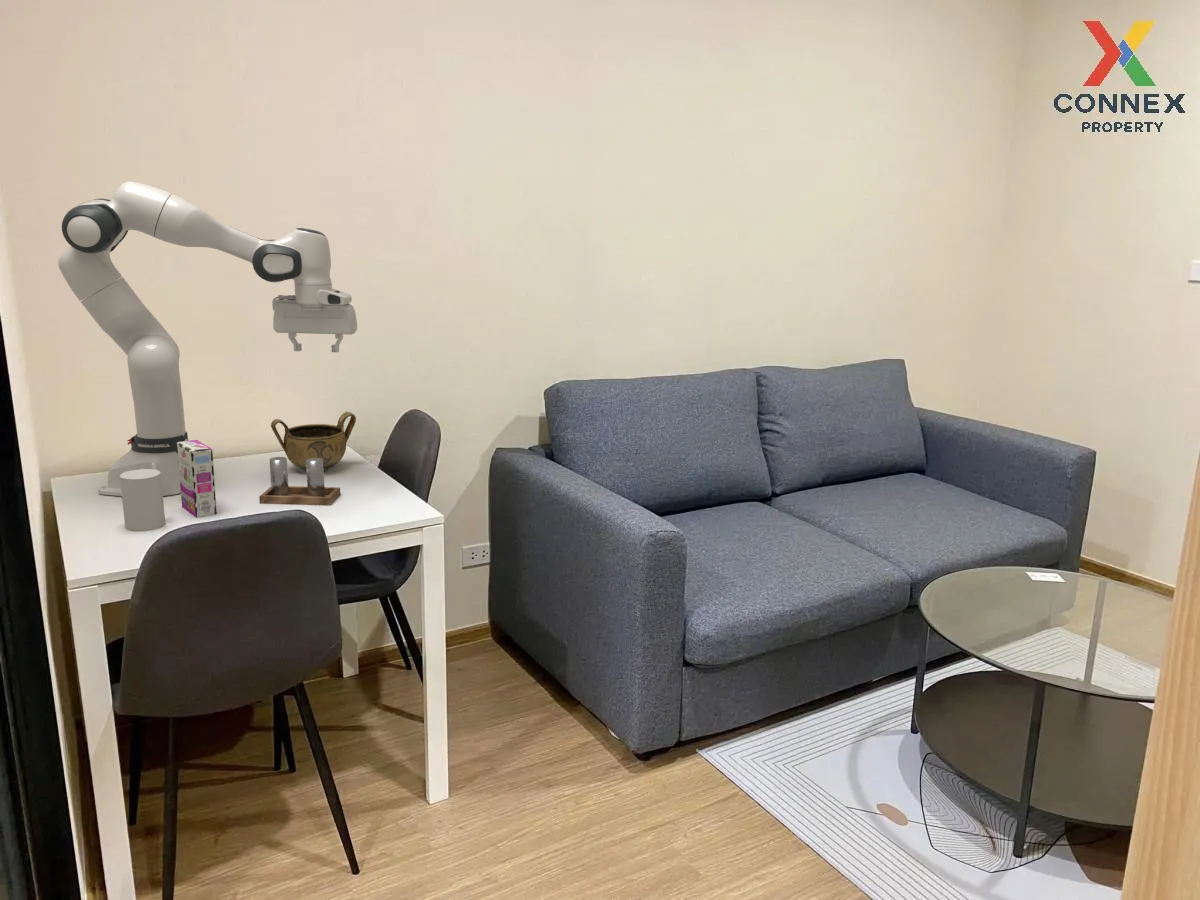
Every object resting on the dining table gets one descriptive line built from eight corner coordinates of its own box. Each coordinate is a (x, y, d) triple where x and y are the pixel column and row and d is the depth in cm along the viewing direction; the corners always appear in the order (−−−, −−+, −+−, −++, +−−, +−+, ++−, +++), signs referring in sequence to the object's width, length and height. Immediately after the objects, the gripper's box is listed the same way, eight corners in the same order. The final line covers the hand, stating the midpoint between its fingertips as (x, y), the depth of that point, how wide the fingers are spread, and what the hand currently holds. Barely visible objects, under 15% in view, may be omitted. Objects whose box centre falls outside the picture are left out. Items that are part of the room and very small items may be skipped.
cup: (171, 519, 214) (166, 469, 211) (156, 531, 206) (151, 479, 203) (135, 519, 213) (130, 468, 210) (118, 531, 205) (112, 478, 202)
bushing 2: (306, 501, 227) (303, 462, 225) (311, 496, 231) (308, 457, 229) (322, 501, 227) (320, 462, 225) (327, 496, 231) (324, 457, 229)
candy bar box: (218, 516, 217) (213, 448, 213) (196, 520, 213) (190, 451, 209) (202, 504, 225) (197, 438, 221) (181, 508, 222) (175, 441, 218)
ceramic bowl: (348, 457, 271) (346, 406, 267) (365, 471, 256) (363, 418, 253) (268, 465, 259) (265, 413, 256) (282, 481, 245) (278, 425, 242)
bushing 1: (269, 500, 227) (267, 460, 225) (275, 495, 231) (272, 456, 229) (285, 500, 227) (283, 461, 225) (291, 496, 231) (289, 457, 229)
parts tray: (259, 505, 225) (259, 496, 224) (272, 494, 234) (272, 485, 233) (330, 507, 225) (329, 498, 224) (340, 496, 234) (340, 487, 233)
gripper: (267, 295, 227) (270, 352, 231) (351, 298, 227) (353, 354, 231) (276, 293, 233) (279, 348, 237) (357, 295, 233) (359, 350, 237)
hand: (316, 351), depth 234 cm, fingers open, 8 cm apart
